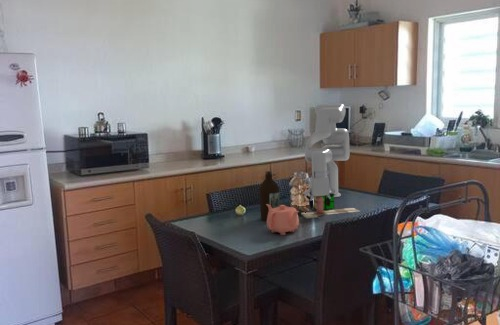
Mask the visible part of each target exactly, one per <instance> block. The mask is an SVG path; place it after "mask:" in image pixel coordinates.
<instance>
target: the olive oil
mask: <svg viewBox="0 0 500 325" xmlns="http://www.w3.org/2000/svg"><path fill="white" fill-rule="evenodd" d="M264 175H265V178H264V180H263V181H262V182H261V184H260V185H259V188H258V197H259V198H258V199H259V208H260V220H261V221H263V222H267V216H268V212H269V208H268V206H267V205H266V204H269V205H271V207H272V208H276V207H279V206H280V193H281V192H280V186H279V184H278V183H277V182H276V181H275V180H274V179H273V173H272V170H271V171H270V170H268V171H267V170H266V171H265V173H264Z"/></svg>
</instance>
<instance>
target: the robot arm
mask: <svg viewBox="0 0 500 325" xmlns="http://www.w3.org/2000/svg"><path fill="white" fill-rule="evenodd" d="M314 111H315V115H316V119H315V131H314V132H313V133H312V134H311V135H310V136H309V138H308V139H307V141H306V143H305V150H304V160H305V161H306V162H307V163H311V176H310V177H309V184H308V185H309V187H308V189H307V190H305V191H304V192H303V195H304V196H305V198H306V199H308V207H310V208H311V209H313V208H314V207H313V200H312V199H313V198H314V196H326V197H327V198H326V205H327V206H328V207H330V199H331V197H332V196H333V194H334V198H339V197H341V195H342V194H341V193H340V192H339V168H338V167H339V166H338V165H337V164H336V162H335V161H340V162H341V161H343V162H344V161H348V160H349V159H350V155H351V154H350V153H351V151H350V134H349V130H348V129H346V128H339V127H338V128H337V125H336V124H338V123H339V124H340V123H342V122H343V121H344V118H345V117H346V113H347V111H346V106H345V104H343V103H321V104H317V105H316V106H315V107H314ZM320 141H322V142H323V143H324V144H326V145H324V146H322V147H320V148H312V147H313V146H314V144H317V143H318V142H320ZM330 191H331V193H330ZM329 193H330V194H329Z"/></svg>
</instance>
